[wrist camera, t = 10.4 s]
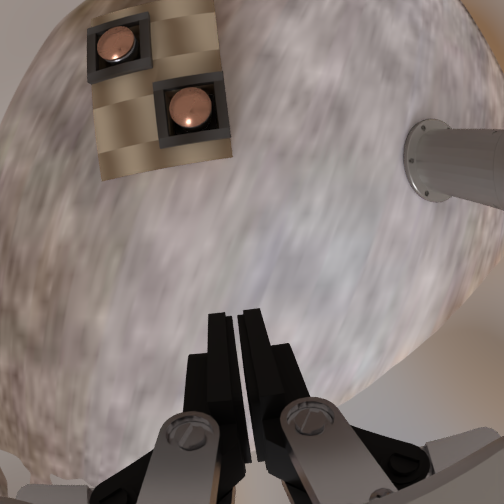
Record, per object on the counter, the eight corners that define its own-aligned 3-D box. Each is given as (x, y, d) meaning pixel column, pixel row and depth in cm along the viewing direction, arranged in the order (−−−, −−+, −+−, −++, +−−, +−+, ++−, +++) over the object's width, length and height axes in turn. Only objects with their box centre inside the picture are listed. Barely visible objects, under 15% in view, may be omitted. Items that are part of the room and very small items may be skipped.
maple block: (212, 11, 28) (212, -13, 22) (229, 157, 34) (233, 157, 28) (104, 33, 26) (88, 15, 21) (116, 178, 33) (98, 182, 27)
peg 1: (145, 43, 28) (133, 22, 21) (147, 70, 29) (134, 53, 23) (114, 51, 27) (97, 32, 21) (115, 78, 29) (97, 63, 22)
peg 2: (209, 97, 31) (208, 84, 25) (213, 130, 32) (213, 123, 26) (175, 103, 31) (167, 91, 25) (179, 135, 32) (171, 130, 26)
